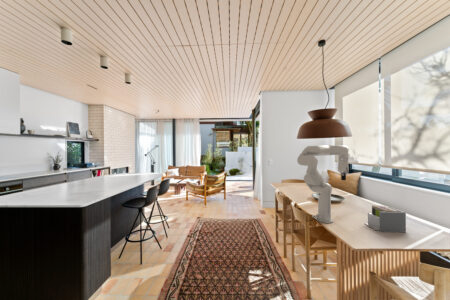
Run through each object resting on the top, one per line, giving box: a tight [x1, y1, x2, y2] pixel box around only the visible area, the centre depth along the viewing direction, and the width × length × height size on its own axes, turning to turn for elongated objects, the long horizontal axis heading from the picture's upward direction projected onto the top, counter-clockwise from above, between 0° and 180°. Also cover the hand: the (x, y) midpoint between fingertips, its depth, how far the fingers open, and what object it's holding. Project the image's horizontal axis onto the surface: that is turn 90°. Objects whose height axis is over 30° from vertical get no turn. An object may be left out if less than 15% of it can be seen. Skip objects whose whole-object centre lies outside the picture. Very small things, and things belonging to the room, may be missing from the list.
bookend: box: [364, 212, 381, 232], centre depth 146 cm, size 4×13×9 cm, turn 176°
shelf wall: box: [379, 206, 407, 233], centre depth 145 cm, size 17×14×14 cm
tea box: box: [371, 204, 399, 217], centre depth 146 cm, size 15×10×15 cm, turn 176°
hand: (343, 180), depth 172 cm, fingers closed
